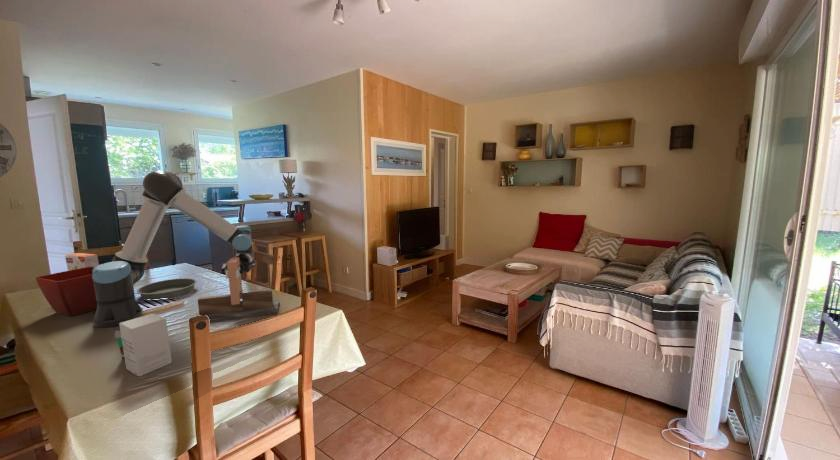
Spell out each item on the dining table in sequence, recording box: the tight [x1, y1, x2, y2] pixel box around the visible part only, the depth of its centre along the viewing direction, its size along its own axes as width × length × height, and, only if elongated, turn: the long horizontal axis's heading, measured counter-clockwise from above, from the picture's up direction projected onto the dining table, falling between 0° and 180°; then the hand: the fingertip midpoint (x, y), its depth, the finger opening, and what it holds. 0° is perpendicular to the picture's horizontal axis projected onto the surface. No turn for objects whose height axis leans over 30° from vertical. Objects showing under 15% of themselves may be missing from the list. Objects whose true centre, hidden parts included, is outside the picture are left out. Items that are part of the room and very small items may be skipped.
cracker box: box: [64, 252, 100, 271], centre depth 172 cm, size 14×6×21 cm, turn 73°
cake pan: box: [136, 277, 198, 301], centre depth 174 cm, size 25×25×4 cm
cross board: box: [193, 289, 280, 323], centre depth 147 cm, size 14×32×8 cm, turn 108°
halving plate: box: [226, 256, 244, 305], centre depth 146 cm, size 9×3×18 cm, turn 18°
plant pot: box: [35, 267, 97, 317], centre depth 152 cm, size 19×19×17 cm
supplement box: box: [118, 312, 173, 377], centre depth 105 cm, size 9×9×15 cm
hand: (231, 274), depth 140 cm, fingers closed on halving plate, 3 cm apart
